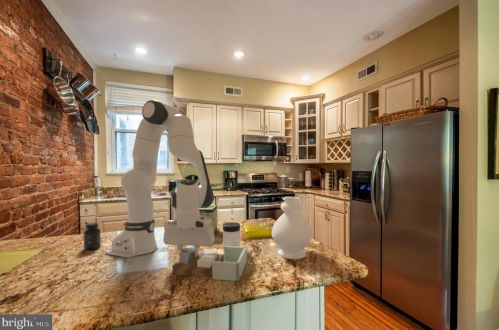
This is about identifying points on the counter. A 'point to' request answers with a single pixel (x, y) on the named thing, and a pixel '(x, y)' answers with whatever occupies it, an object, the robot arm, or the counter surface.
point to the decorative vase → (291, 230)
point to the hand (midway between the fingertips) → (189, 255)
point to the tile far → (210, 252)
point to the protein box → (210, 215)
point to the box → (230, 264)
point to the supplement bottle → (92, 237)
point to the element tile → (257, 230)
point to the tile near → (205, 261)
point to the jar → (231, 234)
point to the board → (195, 267)
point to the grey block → (186, 255)
